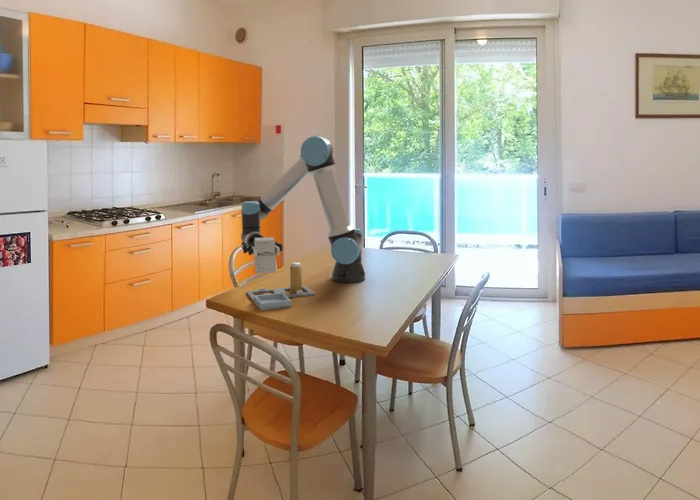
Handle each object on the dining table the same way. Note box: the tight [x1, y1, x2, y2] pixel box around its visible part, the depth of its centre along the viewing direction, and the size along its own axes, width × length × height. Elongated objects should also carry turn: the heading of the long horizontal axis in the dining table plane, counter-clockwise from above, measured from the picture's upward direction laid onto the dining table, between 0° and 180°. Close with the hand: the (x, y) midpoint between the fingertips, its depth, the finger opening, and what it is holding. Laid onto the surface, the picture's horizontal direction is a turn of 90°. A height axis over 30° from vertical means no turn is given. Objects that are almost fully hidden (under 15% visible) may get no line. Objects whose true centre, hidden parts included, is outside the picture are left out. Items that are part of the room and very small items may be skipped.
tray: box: [253, 293, 292, 311], centre depth 194 cm, size 11×11×2 cm
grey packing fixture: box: [246, 285, 316, 302], centre depth 208 cm, size 25×12×2 cm, turn 112°
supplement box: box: [254, 237, 276, 274], centre depth 196 cm, size 7×7×13 cm
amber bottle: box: [289, 262, 303, 294], centre depth 209 cm, size 5×5×12 cm
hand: (267, 252), depth 191 cm, fingers closed on supplement box, 8 cm apart
